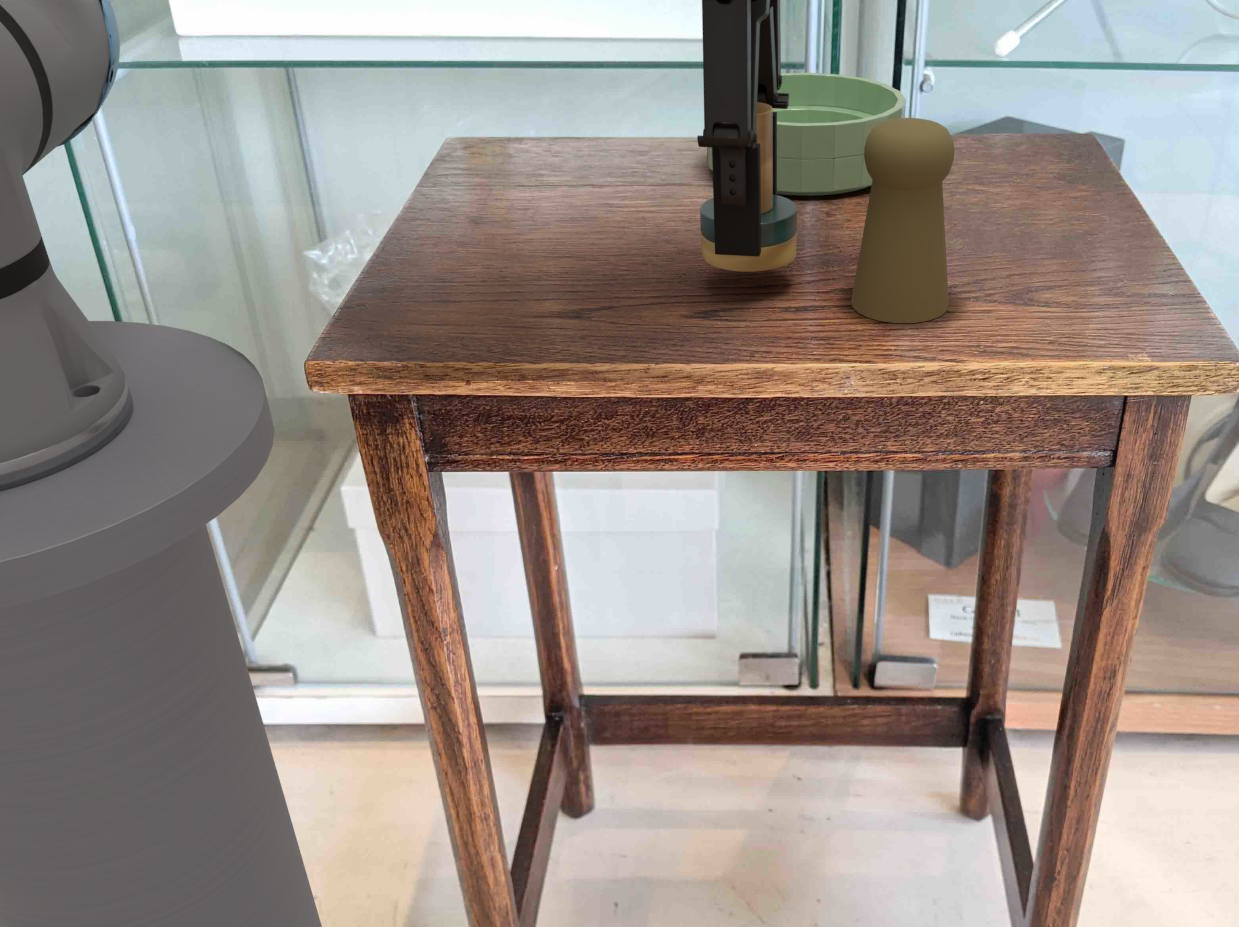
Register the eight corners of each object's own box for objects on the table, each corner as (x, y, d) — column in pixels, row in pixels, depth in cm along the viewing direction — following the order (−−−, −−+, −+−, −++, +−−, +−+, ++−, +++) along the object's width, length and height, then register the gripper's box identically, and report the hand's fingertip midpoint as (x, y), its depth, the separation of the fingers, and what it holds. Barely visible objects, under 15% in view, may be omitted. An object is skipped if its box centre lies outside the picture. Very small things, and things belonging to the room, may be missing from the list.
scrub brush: (744, 279, 79) (741, 128, 73) (682, 253, 82) (676, 107, 77) (816, 255, 82) (818, 108, 77) (753, 231, 86) (752, 89, 80)
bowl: (798, 215, 94) (799, 137, 91) (669, 166, 103) (666, 94, 100) (940, 172, 102) (946, 100, 99) (808, 130, 112) (810, 63, 109)
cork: (864, 327, 78) (873, 140, 71) (840, 288, 83) (846, 111, 76) (961, 319, 79) (978, 134, 72) (932, 282, 84) (945, 105, 77)
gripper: (787, -178, 60) (785, 296, 73) (832, -207, 75) (823, 188, 89) (628, -180, 61) (655, 288, 74) (704, -208, 76) (715, 183, 90)
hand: (747, 233), depth 81 cm, fingers closed on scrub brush, 6 cm apart
